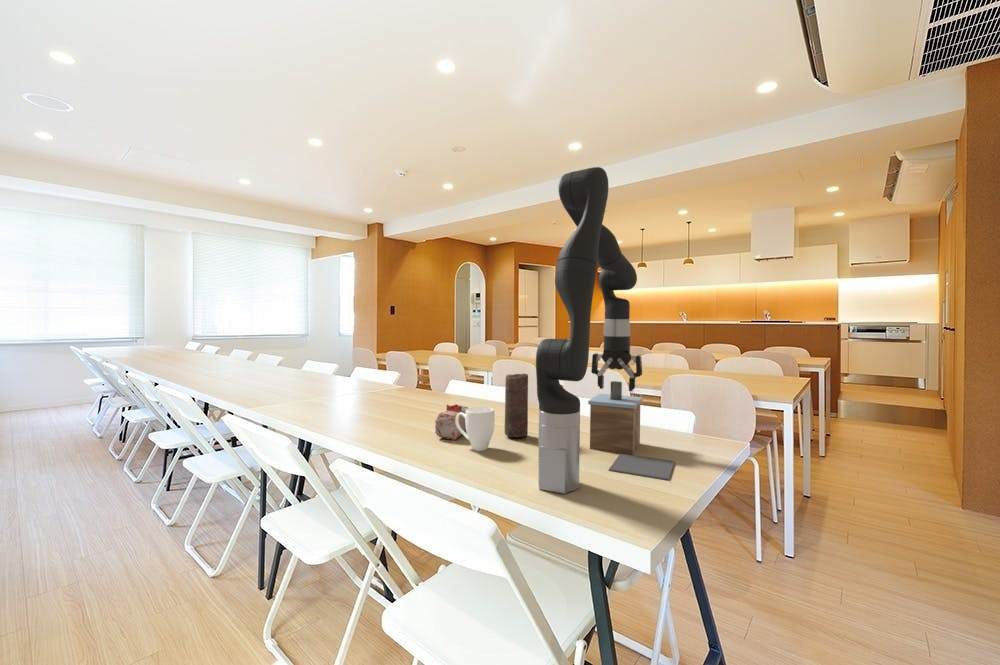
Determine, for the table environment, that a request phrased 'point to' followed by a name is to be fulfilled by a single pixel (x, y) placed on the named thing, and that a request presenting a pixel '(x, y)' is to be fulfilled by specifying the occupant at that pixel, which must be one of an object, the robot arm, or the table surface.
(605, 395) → the lid
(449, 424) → the grey speckled jug shape
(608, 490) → the table surface
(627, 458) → the mat
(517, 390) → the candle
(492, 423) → the mug
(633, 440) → the box
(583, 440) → the table surface
